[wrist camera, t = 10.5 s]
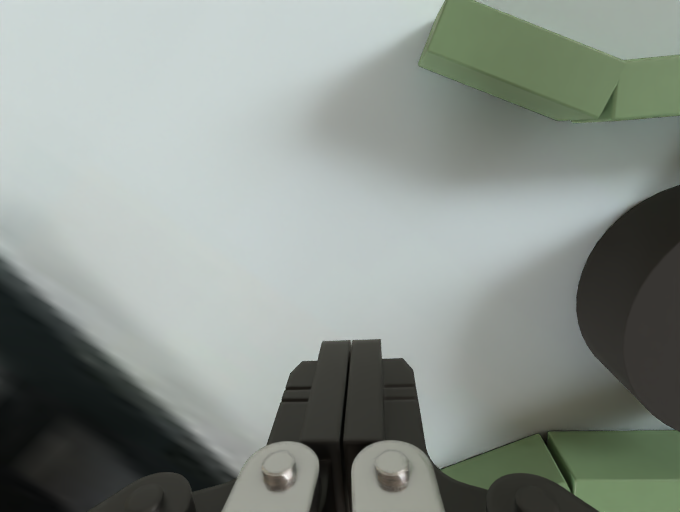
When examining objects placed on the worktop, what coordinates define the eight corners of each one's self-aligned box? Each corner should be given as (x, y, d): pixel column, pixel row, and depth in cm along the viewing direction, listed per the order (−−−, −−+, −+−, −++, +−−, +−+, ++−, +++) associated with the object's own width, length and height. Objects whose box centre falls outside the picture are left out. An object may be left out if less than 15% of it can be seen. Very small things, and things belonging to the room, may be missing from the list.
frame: (416, 19, 13) (425, -7, 10) (1021, -49, 11) (1197, -99, 9) (429, 497, 18) (437, 552, 16) (839, 500, 16) (917, 562, 14)
